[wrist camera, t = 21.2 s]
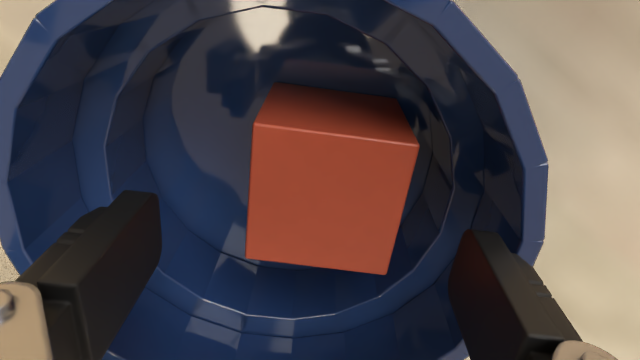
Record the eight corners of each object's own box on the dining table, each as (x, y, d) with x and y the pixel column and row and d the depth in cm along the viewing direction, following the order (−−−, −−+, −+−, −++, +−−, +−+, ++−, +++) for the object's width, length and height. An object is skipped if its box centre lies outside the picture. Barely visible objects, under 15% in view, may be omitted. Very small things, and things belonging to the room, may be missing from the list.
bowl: (520, -22, 14) (659, -15, 8) (422, 301, 20) (459, 435, 14) (86, -80, 13) (-104, -118, 7) (127, 269, 20) (42, 394, 14)
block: (397, 98, 15) (421, 144, 11) (374, 204, 17) (386, 276, 13) (273, 81, 15) (252, 122, 11) (264, 190, 17) (244, 259, 13)
